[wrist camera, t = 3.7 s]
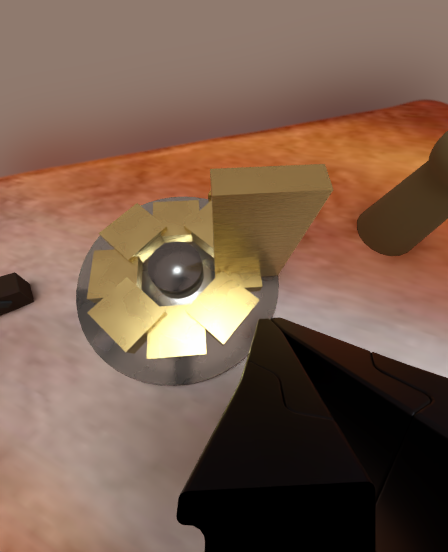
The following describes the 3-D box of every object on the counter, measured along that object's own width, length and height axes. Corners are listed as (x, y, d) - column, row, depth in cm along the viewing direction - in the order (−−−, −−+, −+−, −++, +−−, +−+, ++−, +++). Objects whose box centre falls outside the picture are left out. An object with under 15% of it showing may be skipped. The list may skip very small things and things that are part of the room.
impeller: (198, 437, 17) (193, 453, 14) (39, 300, 20) (8, 288, 17) (309, 260, 22) (323, 243, 19) (170, 178, 26) (163, 152, 23)
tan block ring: (86, 364, 17) (-91, 362, 7) (106, 212, 22) (19, 93, 12) (291, 347, 18) (377, 324, 8) (264, 204, 23) (298, 86, 13)
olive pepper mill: (399, 267, 22) (550, 184, 12) (346, 232, 24) (442, 132, 14) (423, 228, 24) (573, 128, 14) (372, 198, 26) (475, 87, 15)
